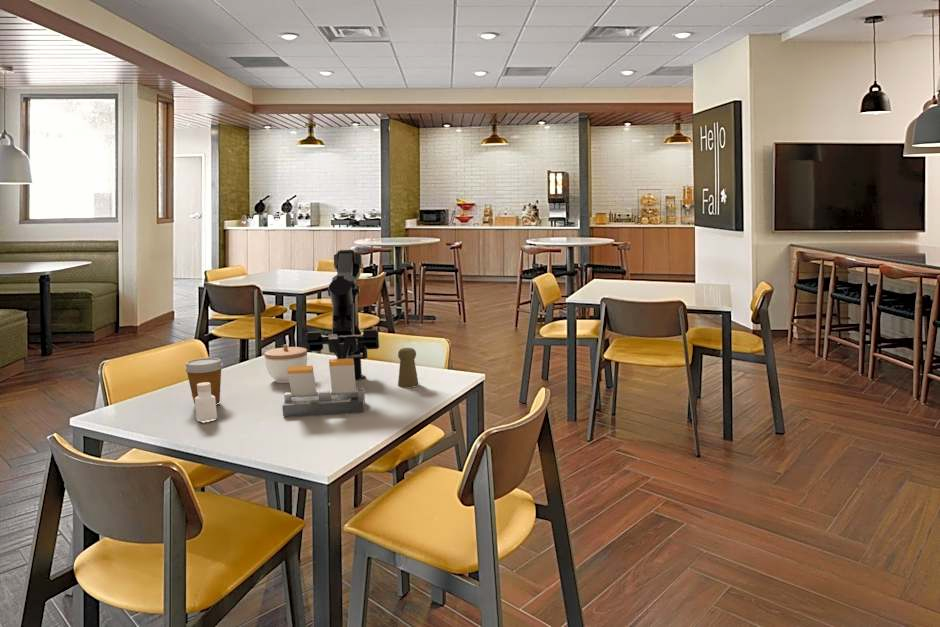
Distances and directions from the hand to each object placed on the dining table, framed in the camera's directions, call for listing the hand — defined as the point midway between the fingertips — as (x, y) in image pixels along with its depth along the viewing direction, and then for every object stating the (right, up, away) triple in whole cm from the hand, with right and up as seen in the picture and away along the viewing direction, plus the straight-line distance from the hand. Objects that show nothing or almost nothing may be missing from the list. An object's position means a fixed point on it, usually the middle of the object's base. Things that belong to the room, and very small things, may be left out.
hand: (342, 367), depth 171 cm
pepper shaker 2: (-33, -13, -4) cm, 36 cm away
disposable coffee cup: (-38, -11, +10) cm, 41 cm away
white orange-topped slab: (-10, -7, +1) cm, 12 cm away
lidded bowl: (-23, -7, +34) cm, 42 cm away
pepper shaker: (+15, -7, +25) cm, 30 cm away
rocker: (0, -7, +2) cm, 7 cm away
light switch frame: (-5, -11, +3) cm, 12 cm away
